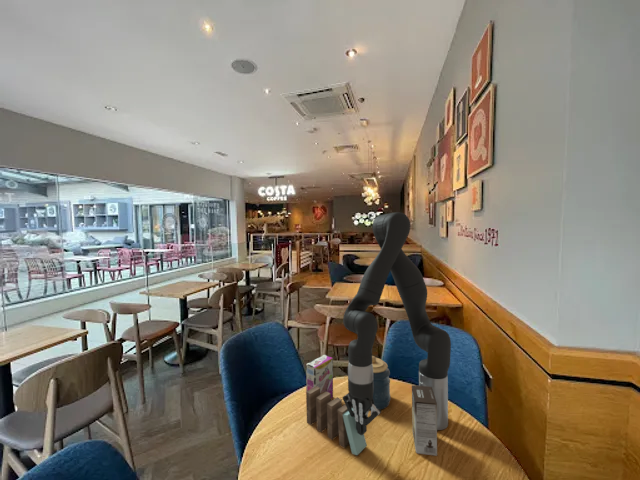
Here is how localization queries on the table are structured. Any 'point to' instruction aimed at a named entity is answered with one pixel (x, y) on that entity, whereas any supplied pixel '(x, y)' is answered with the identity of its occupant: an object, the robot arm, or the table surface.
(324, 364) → the candy bar box
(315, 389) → the domino
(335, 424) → the domino
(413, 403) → the coffee box
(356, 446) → the domino
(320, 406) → the domino
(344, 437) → the domino
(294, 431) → the table surface
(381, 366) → the canister
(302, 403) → the table surface
